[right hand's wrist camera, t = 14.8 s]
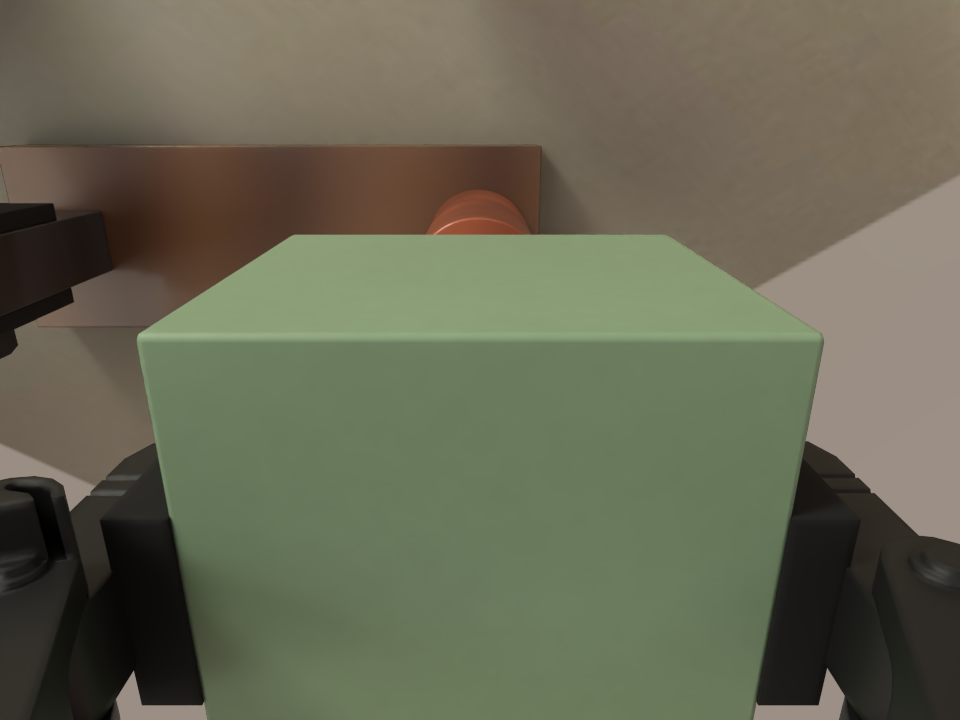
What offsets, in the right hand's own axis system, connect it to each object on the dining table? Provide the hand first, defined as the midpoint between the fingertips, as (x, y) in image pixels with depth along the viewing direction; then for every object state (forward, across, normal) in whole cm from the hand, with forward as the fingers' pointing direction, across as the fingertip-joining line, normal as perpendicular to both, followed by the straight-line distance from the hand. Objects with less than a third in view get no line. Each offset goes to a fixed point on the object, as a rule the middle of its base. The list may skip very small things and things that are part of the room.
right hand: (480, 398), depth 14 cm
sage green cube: (0, 0, 0) cm, 0 cm away
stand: (+23, -10, 0) cm, 25 cm away
